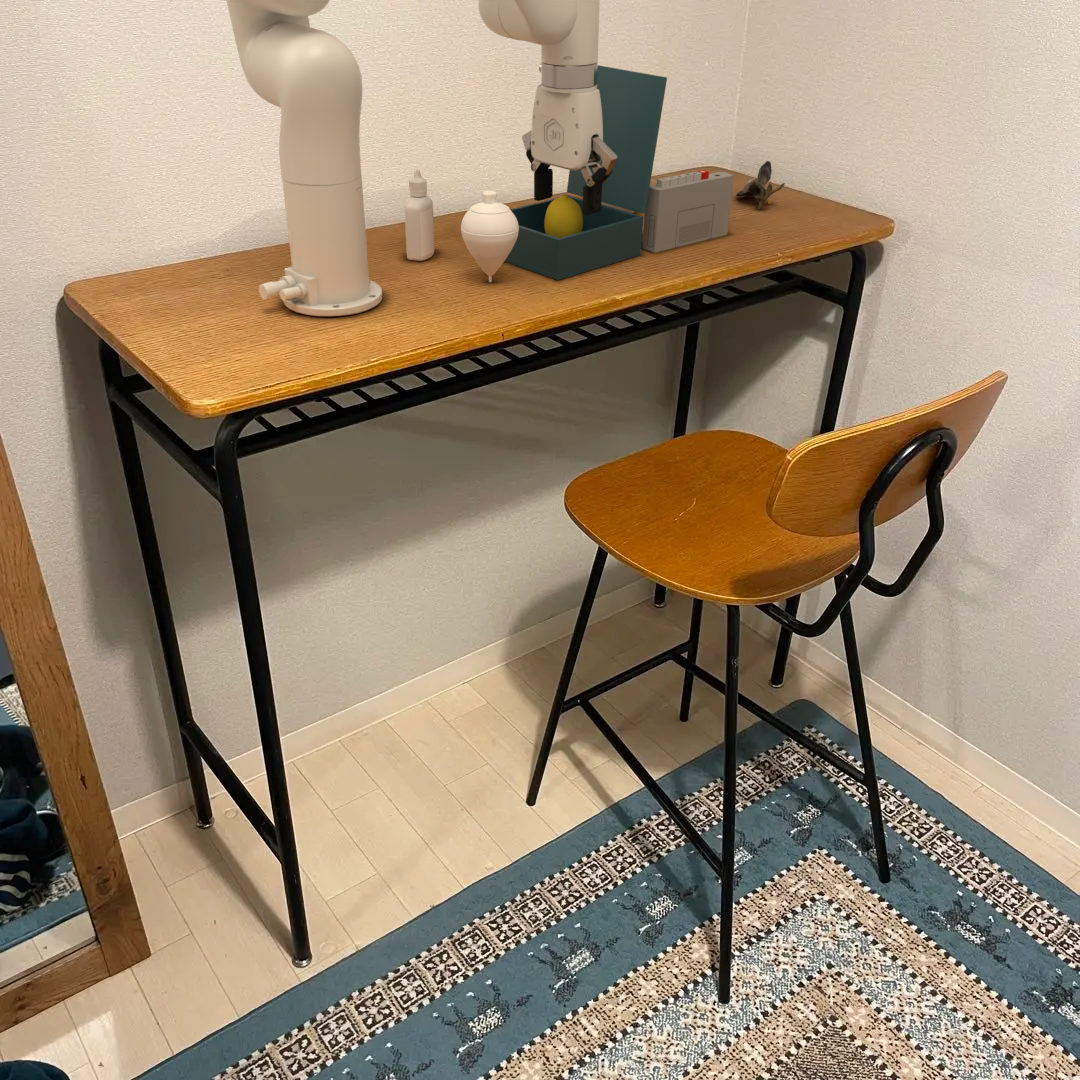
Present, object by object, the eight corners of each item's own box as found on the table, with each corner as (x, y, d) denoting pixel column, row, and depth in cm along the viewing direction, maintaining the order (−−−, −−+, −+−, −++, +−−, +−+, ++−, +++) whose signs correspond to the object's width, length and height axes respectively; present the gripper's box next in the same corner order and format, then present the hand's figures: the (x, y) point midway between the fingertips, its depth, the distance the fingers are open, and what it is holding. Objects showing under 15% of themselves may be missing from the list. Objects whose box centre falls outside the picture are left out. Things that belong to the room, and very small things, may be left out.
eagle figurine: (793, 203, 174) (779, 179, 181) (778, 168, 170) (764, 145, 176) (752, 226, 176) (739, 202, 183) (735, 193, 172) (723, 169, 178)
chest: (557, 280, 143) (559, 239, 140) (484, 254, 152) (483, 215, 149) (640, 254, 153) (643, 216, 150) (567, 231, 162) (568, 194, 159)
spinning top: (508, 294, 138) (508, 201, 131) (453, 287, 139) (451, 196, 133) (525, 276, 144) (526, 187, 137) (473, 270, 146) (471, 182, 139)
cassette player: (714, 230, 164) (721, 164, 159) (727, 234, 162) (734, 168, 157) (642, 248, 156) (647, 179, 150) (654, 252, 154) (660, 183, 149)
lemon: (567, 258, 149) (569, 202, 144) (536, 251, 152) (537, 195, 147) (589, 249, 153) (591, 194, 148) (558, 242, 155) (560, 187, 151)
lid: (663, 77, 141) (667, 77, 142) (582, 62, 150) (586, 63, 151) (642, 213, 149) (645, 213, 150) (566, 192, 158) (570, 191, 159)
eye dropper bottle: (445, 255, 151) (443, 169, 144) (415, 263, 148) (411, 176, 141) (426, 248, 154) (423, 163, 147) (396, 256, 150) (391, 170, 144)
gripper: (504, 71, 142) (506, 198, 152) (597, 89, 132) (593, 224, 142) (544, 65, 147) (543, 189, 156) (636, 81, 136) (630, 213, 146)
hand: (567, 205), depth 149 cm, fingers open, 9 cm apart
